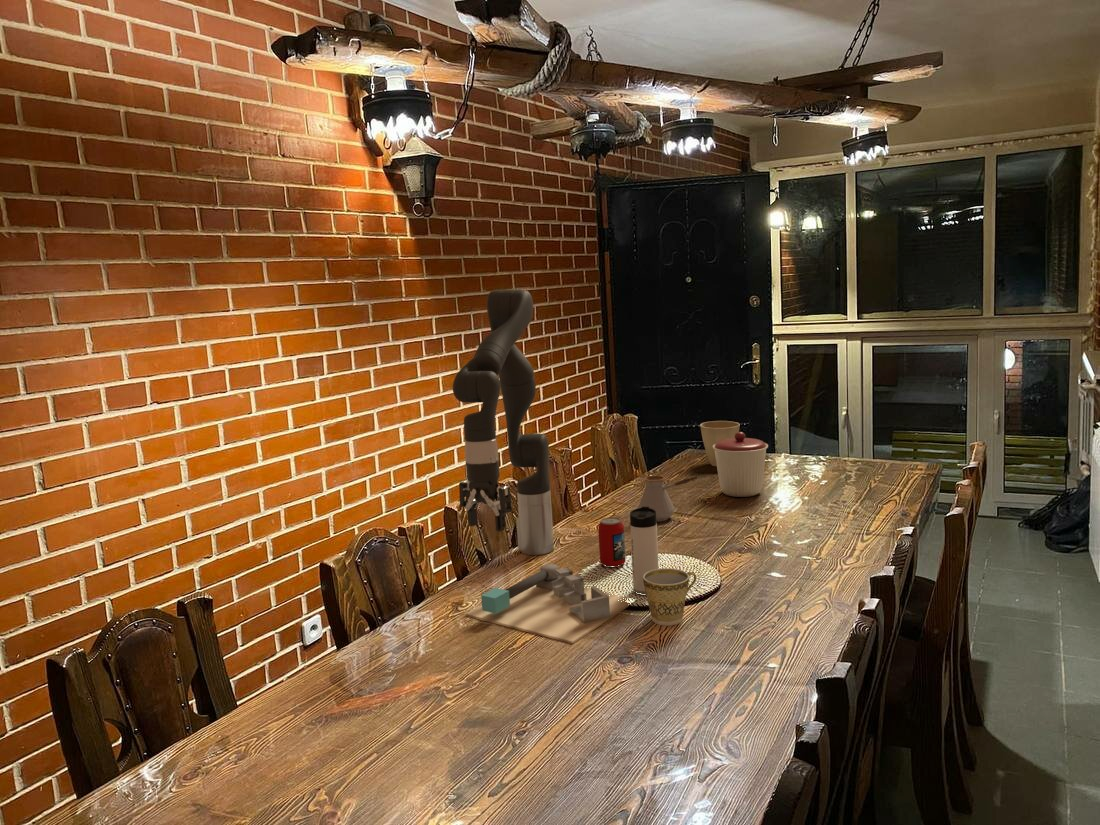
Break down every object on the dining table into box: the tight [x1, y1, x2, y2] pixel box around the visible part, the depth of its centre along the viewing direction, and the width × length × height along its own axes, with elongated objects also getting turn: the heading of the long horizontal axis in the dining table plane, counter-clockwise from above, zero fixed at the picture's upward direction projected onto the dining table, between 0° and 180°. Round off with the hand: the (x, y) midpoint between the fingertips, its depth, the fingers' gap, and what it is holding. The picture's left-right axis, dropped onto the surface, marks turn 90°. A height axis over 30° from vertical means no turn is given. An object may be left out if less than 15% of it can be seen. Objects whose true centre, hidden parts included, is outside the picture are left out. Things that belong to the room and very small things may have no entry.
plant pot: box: [699, 420, 741, 467], centre depth 317 cm, size 15×15×16 cm
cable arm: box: [480, 563, 559, 614], centre depth 193 cm, size 25×4×4 cm, turn 143°
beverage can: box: [598, 516, 626, 567], centre depth 214 cm, size 7×7×12 cm
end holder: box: [570, 585, 611, 624], centre depth 182 cm, size 7×7×5 cm
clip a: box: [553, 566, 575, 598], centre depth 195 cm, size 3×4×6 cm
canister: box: [713, 431, 769, 498], centre depth 274 cm, size 18×18×21 cm
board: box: [465, 576, 633, 645], centre depth 189 cm, size 30×26×2 cm
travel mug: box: [629, 506, 660, 594], centre depth 194 cm, size 6×7×20 cm
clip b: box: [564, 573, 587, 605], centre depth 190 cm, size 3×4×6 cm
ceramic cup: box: [643, 567, 697, 627], centre depth 179 cm, size 13×10×10 cm
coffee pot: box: [637, 475, 702, 522], centre depth 250 cm, size 21×12×15 cm, turn 53°
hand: (486, 528), depth 188 cm, fingers open, 8 cm apart
